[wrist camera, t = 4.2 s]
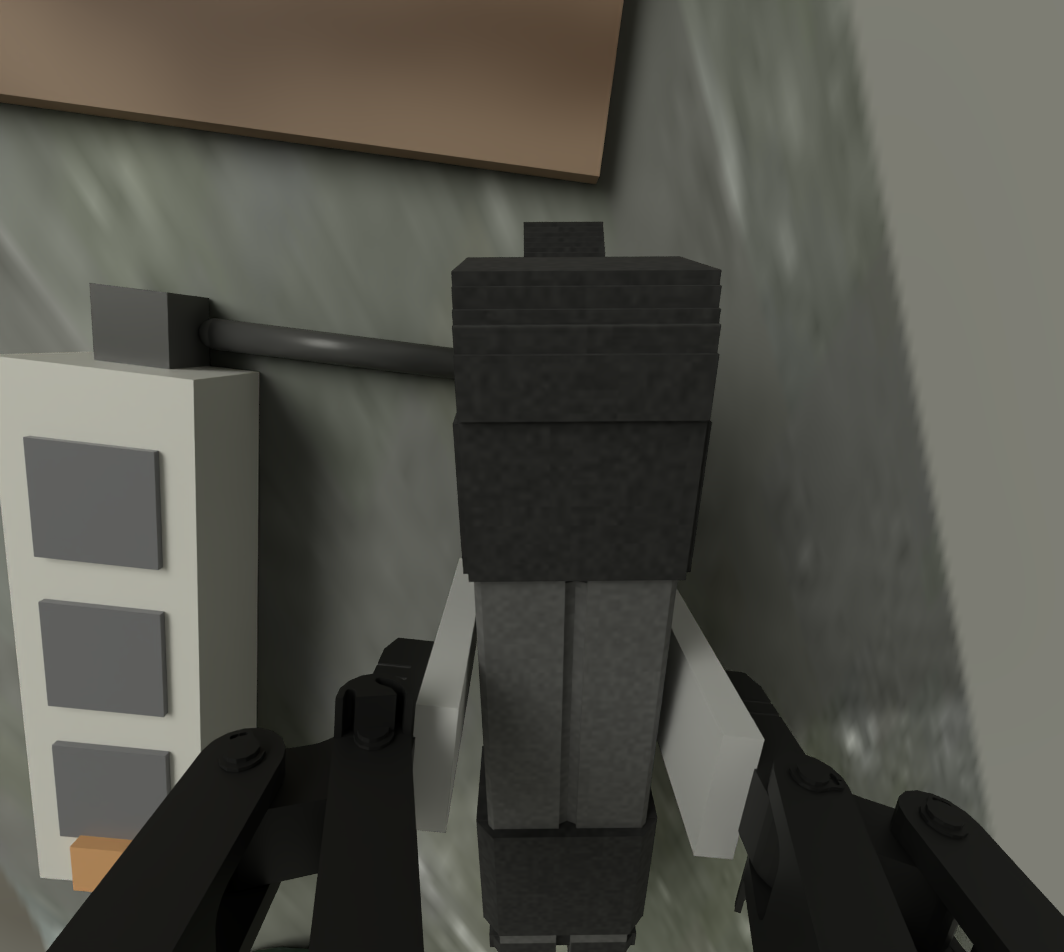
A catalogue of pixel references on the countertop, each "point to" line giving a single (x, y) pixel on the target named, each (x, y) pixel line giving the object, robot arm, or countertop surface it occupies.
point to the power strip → (139, 553)
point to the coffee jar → (283, 950)
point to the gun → (576, 561)
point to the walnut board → (335, 73)
